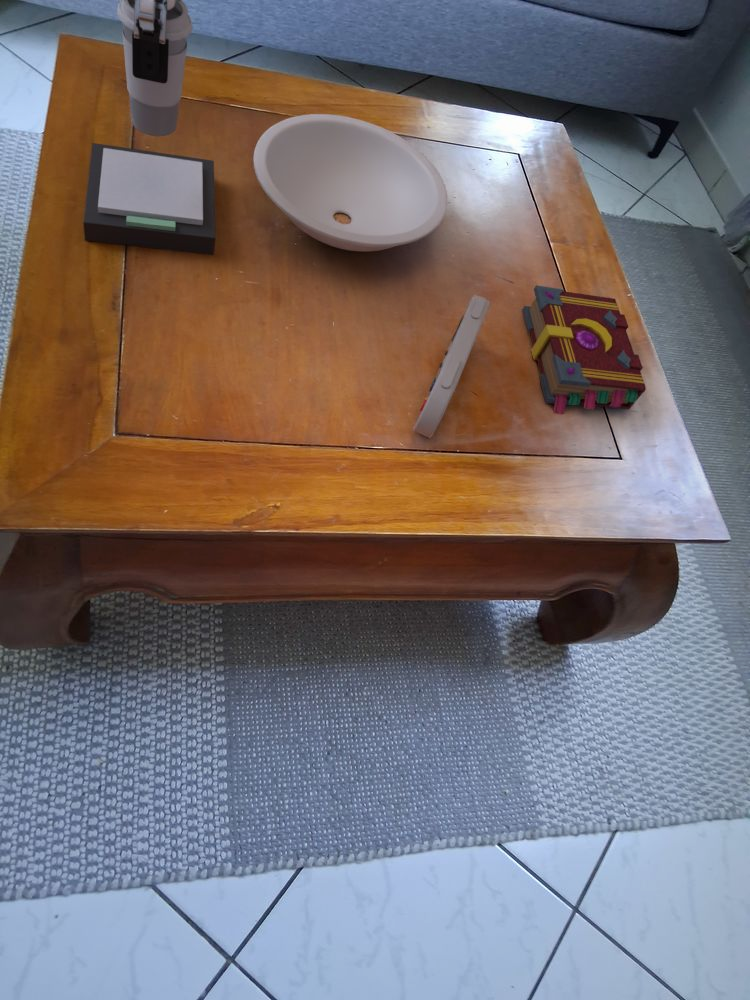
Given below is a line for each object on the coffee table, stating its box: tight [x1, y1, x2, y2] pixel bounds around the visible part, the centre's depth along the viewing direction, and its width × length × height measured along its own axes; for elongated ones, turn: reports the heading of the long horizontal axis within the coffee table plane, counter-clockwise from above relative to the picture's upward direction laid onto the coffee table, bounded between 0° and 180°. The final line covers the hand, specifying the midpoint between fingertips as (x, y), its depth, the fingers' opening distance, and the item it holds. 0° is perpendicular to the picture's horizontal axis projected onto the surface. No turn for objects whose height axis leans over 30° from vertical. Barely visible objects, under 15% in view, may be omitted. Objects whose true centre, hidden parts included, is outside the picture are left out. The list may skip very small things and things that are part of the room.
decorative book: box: [522, 285, 647, 415], centre depth 92 cm, size 11×16×5 cm
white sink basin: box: [252, 113, 448, 253], centre depth 95 cm, size 24×24×7 cm
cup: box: [116, 0, 194, 137], centre depth 76 cm, size 7×7×12 cm
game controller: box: [413, 294, 491, 439], centre depth 83 cm, size 20×2×8 cm, turn 160°
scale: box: [82, 142, 216, 256], centre depth 88 cm, size 14×14×3 cm
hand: (154, 55), depth 75 cm, fingers closed on cup, 7 cm apart
